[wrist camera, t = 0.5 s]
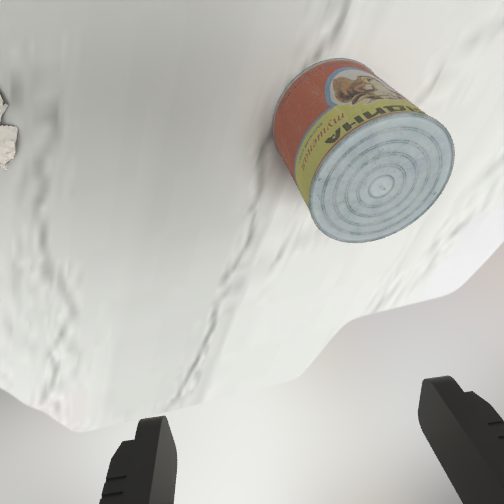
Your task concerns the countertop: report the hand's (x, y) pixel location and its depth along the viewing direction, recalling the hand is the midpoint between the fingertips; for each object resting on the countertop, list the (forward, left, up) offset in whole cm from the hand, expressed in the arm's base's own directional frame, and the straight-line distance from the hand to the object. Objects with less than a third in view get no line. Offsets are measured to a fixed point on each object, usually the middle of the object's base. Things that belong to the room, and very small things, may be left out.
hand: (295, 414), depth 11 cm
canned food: (+11, +5, -29) cm, 31 cm away
